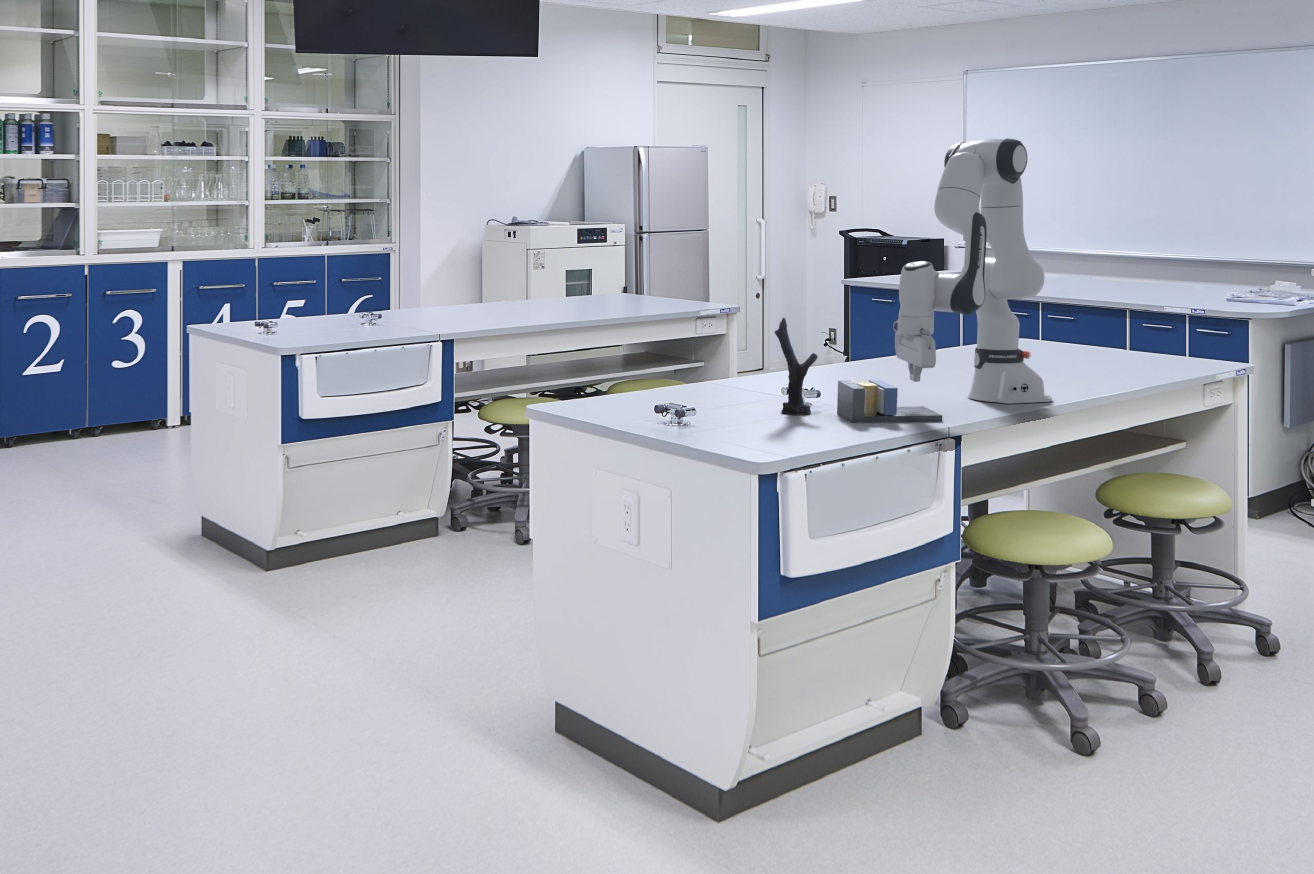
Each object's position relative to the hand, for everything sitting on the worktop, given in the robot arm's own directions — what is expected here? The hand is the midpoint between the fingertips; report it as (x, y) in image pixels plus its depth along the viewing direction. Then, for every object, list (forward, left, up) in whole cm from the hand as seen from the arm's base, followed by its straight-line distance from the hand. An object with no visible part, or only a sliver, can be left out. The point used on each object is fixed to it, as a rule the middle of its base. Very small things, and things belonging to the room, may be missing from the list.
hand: (914, 380), depth 306 cm
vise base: (+8, +3, -9) cm, 12 cm away
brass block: (+14, +3, -7) cm, 16 cm away
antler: (+31, -4, -9) cm, 32 cm away
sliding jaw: (+10, +3, -7) cm, 12 cm away
